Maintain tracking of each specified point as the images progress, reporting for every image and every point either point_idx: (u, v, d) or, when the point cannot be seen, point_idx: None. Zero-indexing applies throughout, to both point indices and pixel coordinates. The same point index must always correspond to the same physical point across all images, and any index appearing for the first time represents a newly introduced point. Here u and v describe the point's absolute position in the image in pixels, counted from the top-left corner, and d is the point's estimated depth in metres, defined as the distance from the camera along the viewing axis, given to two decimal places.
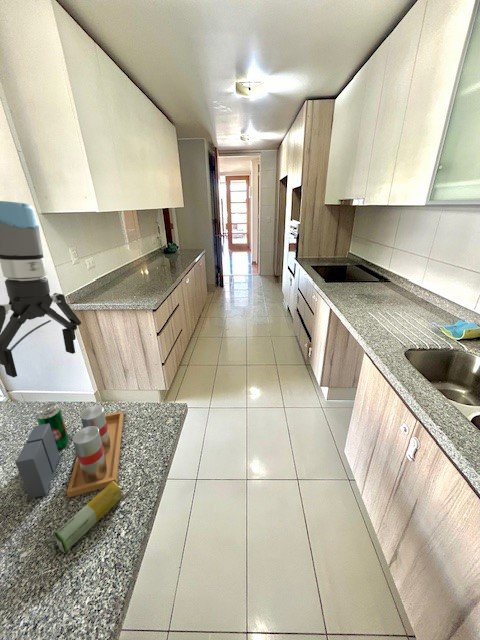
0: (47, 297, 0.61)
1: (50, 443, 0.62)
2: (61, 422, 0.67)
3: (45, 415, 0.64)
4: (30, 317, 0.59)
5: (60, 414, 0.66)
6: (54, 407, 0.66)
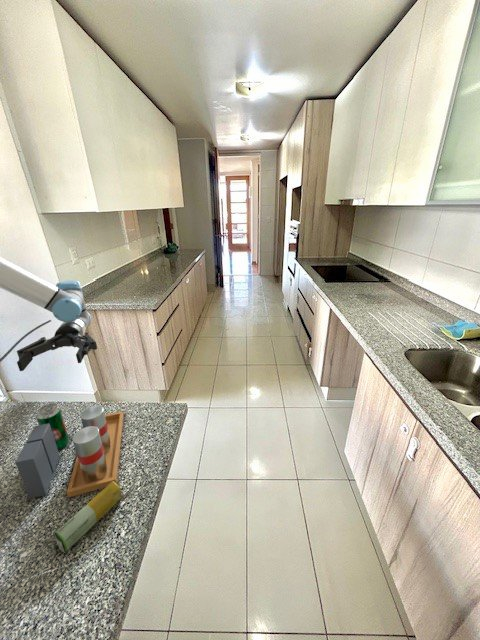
0: None
1: (50, 443, 0.62)
2: (61, 422, 0.67)
3: (45, 415, 0.64)
4: (69, 345, 0.82)
5: (60, 414, 0.66)
6: (54, 407, 0.66)
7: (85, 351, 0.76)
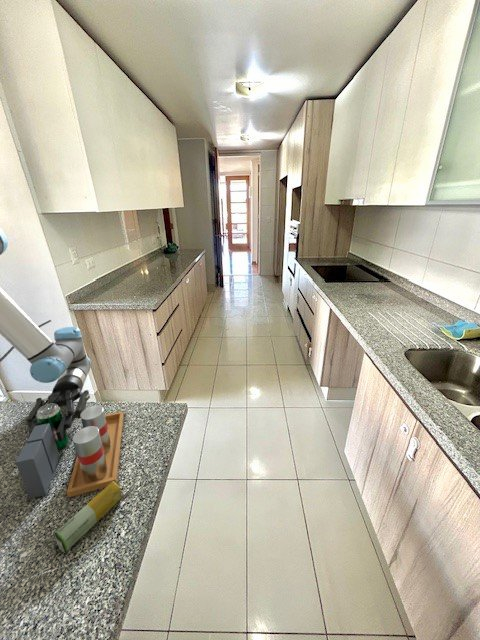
0: None
1: (50, 443, 0.62)
2: None
3: (45, 415, 0.64)
4: None
5: (60, 414, 0.66)
6: (54, 407, 0.66)
7: (68, 424, 0.66)
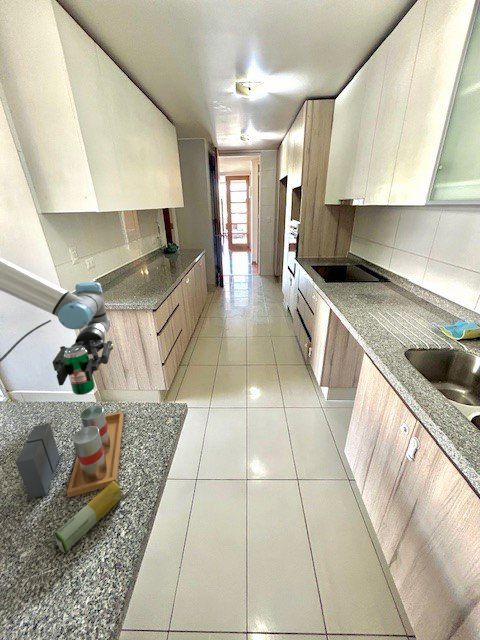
0: None
1: (50, 443, 0.62)
2: None
3: (73, 354, 0.62)
4: (92, 353, 0.75)
5: (87, 356, 0.65)
6: (81, 348, 0.64)
7: (95, 366, 0.65)
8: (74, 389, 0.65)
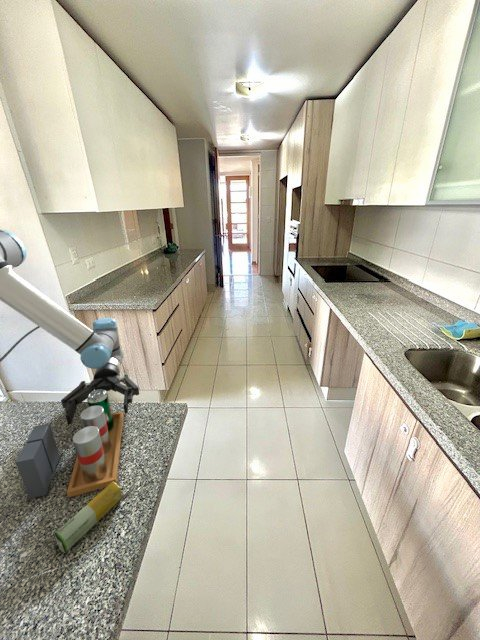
0: None
1: (50, 443, 0.62)
2: (109, 407, 0.72)
3: (96, 400, 0.69)
4: None
5: (108, 399, 0.71)
6: (103, 392, 0.71)
7: (130, 399, 0.74)
8: None
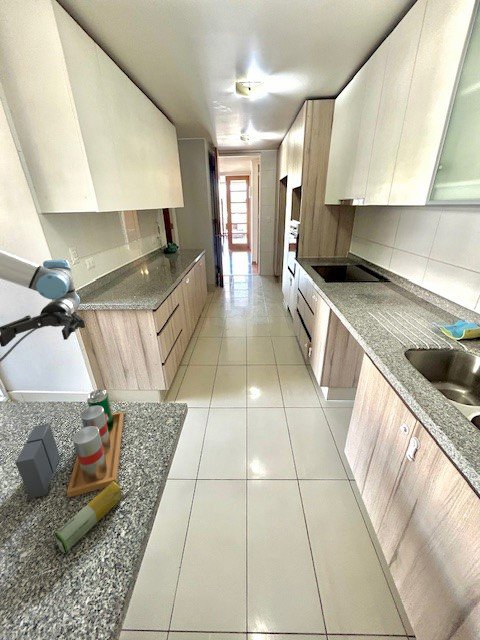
0: None
1: (50, 443, 0.62)
2: (109, 407, 0.72)
3: (96, 400, 0.69)
4: (55, 324, 0.78)
5: (108, 399, 0.71)
6: (103, 392, 0.71)
7: (72, 328, 0.72)
8: None
